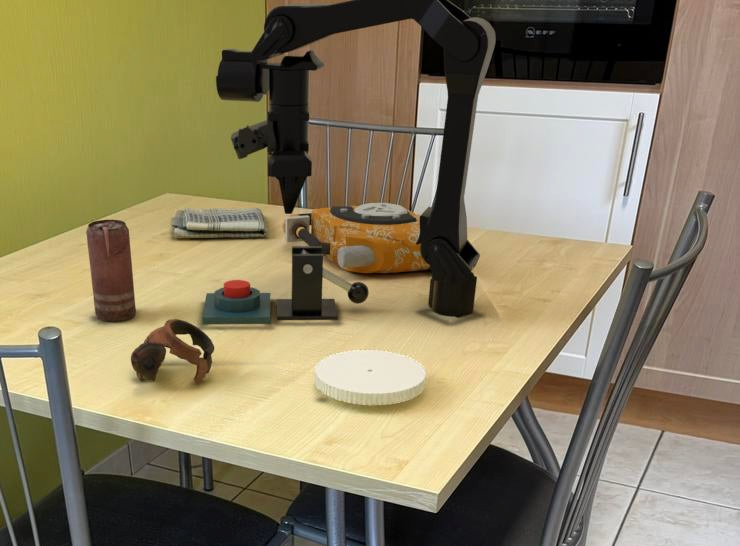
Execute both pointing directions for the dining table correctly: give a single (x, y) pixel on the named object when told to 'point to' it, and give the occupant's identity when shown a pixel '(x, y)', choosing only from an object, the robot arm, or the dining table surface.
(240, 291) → the red button
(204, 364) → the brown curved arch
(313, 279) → the lever bracket
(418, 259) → the device
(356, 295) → the lever handle
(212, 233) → the dish towel
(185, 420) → the dining table surface
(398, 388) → the plastic lid
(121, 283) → the can
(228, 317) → the button housing
